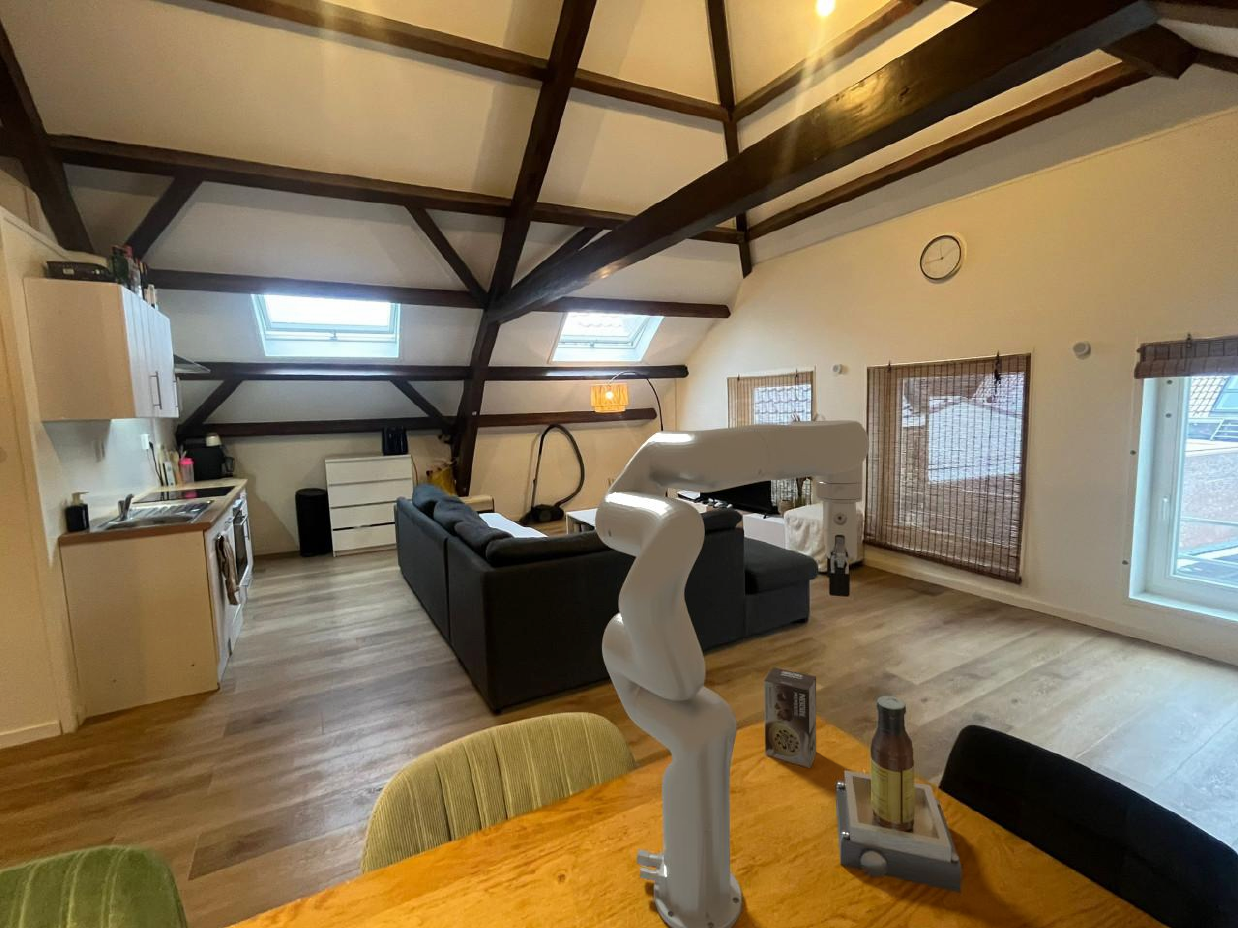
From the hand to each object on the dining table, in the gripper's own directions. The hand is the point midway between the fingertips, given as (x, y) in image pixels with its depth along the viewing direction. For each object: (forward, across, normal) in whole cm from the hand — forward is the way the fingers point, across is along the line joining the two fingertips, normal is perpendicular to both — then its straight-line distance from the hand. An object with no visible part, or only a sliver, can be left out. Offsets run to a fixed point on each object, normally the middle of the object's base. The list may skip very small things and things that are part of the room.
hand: (837, 586), depth 96 cm
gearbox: (+38, -11, -8) cm, 41 cm away
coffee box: (+39, +8, +8) cm, 40 cm away
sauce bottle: (+34, -11, -8) cm, 37 cm away
